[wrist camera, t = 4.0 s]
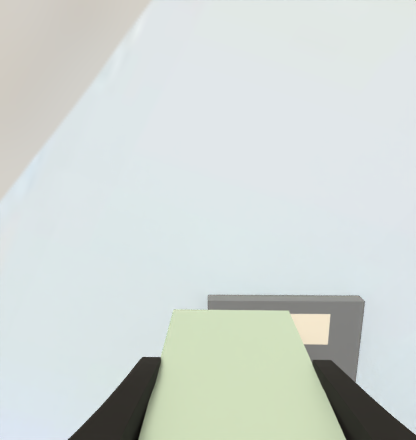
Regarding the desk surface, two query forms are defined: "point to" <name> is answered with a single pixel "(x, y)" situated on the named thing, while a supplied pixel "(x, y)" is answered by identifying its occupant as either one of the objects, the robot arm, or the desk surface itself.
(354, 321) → the board
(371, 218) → the desk surface
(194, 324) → the green domino
